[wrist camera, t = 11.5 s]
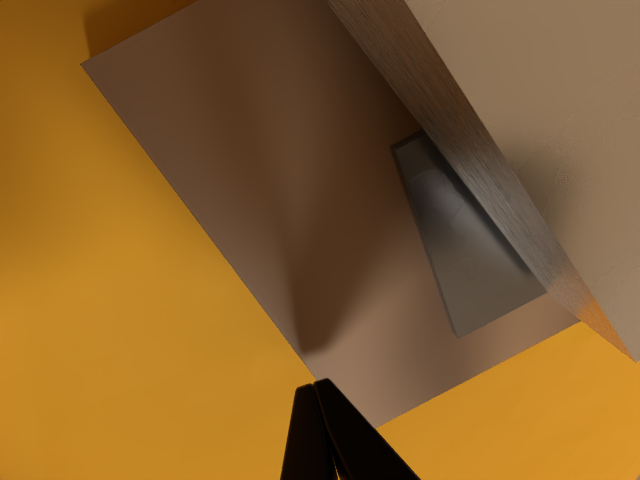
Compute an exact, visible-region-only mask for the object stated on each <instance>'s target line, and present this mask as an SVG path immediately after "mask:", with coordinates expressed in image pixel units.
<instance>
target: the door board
mask: <svg viewBox="0 0 640 480" xmlns="http://www.w3.org/2000/svg"><path fill="white" fill-rule="evenodd" d="M80 65H81V66H82V67H83V69H84V70H85V71H86V73H87V74H88V75H89V77H90V78H91V79H92V81H93V82H94V83H95V85H96V86H97V87H98V89H99V90H100V91H101V93H102V94H103V95H104V97H105V98H106V99H107V101H108V102H109V103H110V105H111V106H112V107H113V109H114V110H115V112H116V113H117V114H118V116H119V117H120V118H121V120H122V121H123V122H124V124H125V125H126V126H127V128H128V129H129V130H130V132H131V133H132V134H133V136H134V137H135V138H136V140H137V141H138V142H139V144H140V145H141V146H142V148H143V149H144V150H145V152H146V153H147V154H148V156H149V157H150V158H151V160H152V161H153V162H154V164H155V165H156V166H157V168H158V169H159V170H160V172H161V173H162V174H163V176H164V177H165V178H166V180H167V181H168V182H169V184H170V185H171V186H172V188H173V189H174V190H175V192H176V193H177V194H178V196H179V197H180V198H181V200H182V201H183V202H184V204H185V205H186V206H187V208H188V209H189V210H190V212H191V213H192V214H193V216H194V217H195V218H196V220H197V221H198V222H199V224H200V225H201V226H202V228H203V229H204V230H205V232H206V233H207V234H208V236H209V237H210V238H211V240H212V241H213V242H214V244H215V245H216V246H217V248H218V249H219V250H220V252H221V253H222V254H223V256H224V257H225V258H226V260H227V261H228V262H229V264H230V265H231V266H232V268H233V269H234V270H235V272H236V273H237V274H238V276H239V277H240V278H241V280H242V281H243V282H244V284H245V285H246V286H247V288H248V289H249V290H250V292H251V293H252V294H253V296H254V297H255V298H256V300H257V301H258V302H259V304H260V305H261V306H262V308H263V309H264V310H265V312H266V313H267V314H268V316H269V317H270V318H271V320H272V321H273V322H274V324H275V325H276V326H277V328H278V329H279V330H280V332H281V333H282V334H283V336H284V337H285V338H286V340H287V341H288V342H289V344H290V345H291V346H292V348H293V349H294V350H295V352H296V353H297V354H298V356H299V357H300V358H301V360H302V361H303V362H304V364H305V365H306V366H307V368H308V369H309V370H310V372H311V373H312V374H313V376H314V377H315V378H316V380H317V381H318V380H321V379H324V378H329V379H330V380H331V381H332V382H333V383H334V384H335V385H336V386H337V387H338V388H339V390H340V391H341V392H342V393H343V394H344V395H345V396H346V397H347V398H348V399H349V401H350V402H351V403H352V404H353V405H354V406H355V407H356V408H357V409H358V411H359V412H360V413H361V414H362V415H363V416H364V417H365V418H366V419H367V421H368V422H369V423H370V424H371V425H372V426H373V427H374V428H377V427H379V426H381V425H383V424H385V423H386V422H388V421H390V420H392V419H394V418H396V417H398V416H400V415H402V414H404V413H406V412H407V411H409V410H411V409H413V408H415V407H417V406H419V405H421V404H423V403H425V402H427V401H428V400H430V399H432V398H434V397H436V396H438V395H440V394H442V393H444V392H446V391H448V390H450V389H451V388H453V387H455V386H457V385H459V384H461V383H463V382H465V381H467V380H469V379H471V378H472V377H474V376H476V375H478V374H480V373H482V372H484V371H486V370H488V369H490V368H492V367H494V366H495V365H497V364H499V363H501V362H503V361H505V360H507V359H509V358H511V357H513V356H515V355H516V354H518V353H520V352H522V351H524V350H526V349H528V348H530V347H532V346H534V345H536V344H538V343H539V342H541V341H543V340H545V339H547V338H549V337H551V336H553V335H555V334H557V333H559V332H560V331H562V330H564V329H566V328H568V327H570V326H572V325H574V324H576V323H578V322H580V321H581V320H580V319H578V318H577V317H576V316H574V315H573V314H572V313H571V312H569V311H568V310H567V309H565V308H564V307H563V306H561V305H560V304H559V303H557V302H556V301H555V300H554V299H552V297H551V296H550V295H549V293H546V294H544V295H542V296H540V297H538V298H536V299H534V300H532V301H530V302H529V303H527V304H525V305H523V306H521V307H519V308H517V309H515V310H513V311H511V312H509V313H508V314H506V315H504V316H502V317H500V318H498V319H496V320H494V321H492V322H490V323H488V324H487V325H485V326H483V327H481V328H479V329H477V330H475V331H473V332H471V333H469V334H467V335H466V336H464V337H462V338H460V339H458V338H457V337H456V336H455V334H454V333H453V332H452V329H451V326H450V323H449V320H448V317H447V314H446V312H445V309H444V306H443V303H442V300H441V297H440V294H439V291H438V288H437V285H436V282H435V279H434V276H433V273H432V270H431V268H430V265H429V262H428V259H427V256H426V253H425V250H424V247H423V244H422V241H421V238H420V235H419V232H418V229H417V226H416V223H415V221H414V218H413V215H412V212H411V209H410V206H409V203H408V200H407V197H406V194H405V191H404V188H403V185H402V182H401V179H400V176H399V174H398V171H397V168H396V165H395V162H394V159H393V156H392V153H391V150H390V147H389V146H391V145H392V144H394V143H396V142H398V141H400V140H402V139H404V138H406V137H407V136H409V135H411V134H413V133H415V132H417V131H419V130H421V129H423V128H422V127H421V126H420V124H419V123H418V122H417V120H416V119H415V118H414V116H413V115H412V114H411V112H410V111H409V110H408V108H407V107H406V106H405V105H404V103H403V102H402V101H401V99H400V98H399V97H398V95H397V94H396V93H395V91H394V90H393V89H392V88H391V86H390V85H389V84H388V82H387V81H386V80H385V78H384V77H383V76H382V74H381V73H380V72H379V70H378V69H377V68H376V67H375V65H374V64H373V63H372V61H371V60H370V59H369V57H368V56H367V55H366V53H365V52H364V51H363V49H362V48H361V47H360V46H359V44H358V43H357V42H356V40H355V39H354V38H353V36H352V35H351V34H350V32H349V31H348V30H347V29H346V27H345V26H344V25H343V23H342V22H341V21H340V19H339V18H338V17H337V15H336V14H335V13H334V11H333V10H332V9H331V8H330V6H329V5H328V4H327V2H326V1H325V0H198V1H196V2H194V3H192V4H190V5H188V6H187V7H185V8H183V9H181V10H179V11H177V12H175V13H174V14H172V15H170V16H168V17H166V18H164V19H162V20H161V21H159V22H157V23H155V24H153V25H151V26H150V27H148V28H146V29H144V30H142V31H140V32H138V33H137V34H135V35H133V36H131V37H129V38H127V39H125V40H124V41H122V42H120V43H118V44H116V45H114V46H112V47H111V48H109V49H107V50H105V51H103V52H101V53H99V54H98V55H96V56H94V57H92V58H90V59H88V60H87V61H85V62H83V63H81V64H80Z"/></svg>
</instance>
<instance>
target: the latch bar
mask: <svg viewBox="0 0 640 480" xmlns="http://www.w3.org/2000/svg"><path fill="white" fill-rule="evenodd" d="M325 1H326V2H327V4H328V5H329V6H330V8H331V9H332V10H333V11H334V13H335V14H336V15H337V17H338V18H339V19H340V21H341V22H342V23H343V25H344V26H345V27H346V29H347V30H348V31H349V32H350V34H351V35H352V36H353V38H354V39H355V40H356V42H357V43H358V44H359V46H360V47H361V48H362V49H363V51H364V52H365V53H366V55H367V56H368V57H369V59H370V60H371V61H372V63H373V64H374V65H375V67H376V68H377V69H378V70H379V72H380V73H381V74H382V76H383V77H384V78H385V80H386V81H387V82H388V84H389V85H390V86H391V88H392V89H393V90H394V91H395V93H396V94H397V95H398V97H399V98H400V99H401V101H402V102H403V103H404V105H405V106H406V107H407V108H408V110H409V111H410V112H411V114H412V115H413V116H414V118H415V119H416V120H417V122H418V123H419V124H420V126H421V127H422V128H423V129H424V131H425V132H426V133H427V135H428V136H429V137H430V139H431V140H432V141H433V143H434V144H435V145H436V146H437V148H438V149H439V150H440V152H441V153H442V154H443V156H444V157H445V158H446V160H447V161H448V162H449V164H450V165H451V166H452V167H453V169H454V170H455V171H456V173H457V174H458V175H459V177H460V178H461V179H462V181H463V182H464V183H465V184H466V186H467V187H468V188H469V190H470V191H471V192H472V194H473V195H474V196H475V198H476V199H477V200H478V202H479V203H480V204H481V205H482V207H483V208H484V209H485V211H486V212H487V213H488V215H489V216H490V217H491V219H492V220H493V221H494V223H495V224H496V225H497V226H498V228H499V229H500V230H501V232H502V233H503V234H504V236H505V237H506V238H507V240H508V241H509V242H510V243H511V245H512V246H513V247H514V249H515V250H516V251H517V253H518V254H519V255H520V257H521V258H522V259H523V261H524V262H525V263H526V264H527V266H528V267H529V268H530V270H531V271H532V272H533V274H534V275H535V276H536V278H537V279H538V280H539V281H540V283H541V284H542V285H543V287H544V288H545V289H546V291H547V292H548V293H549V295H550V296H551V297H552V299H554V300H555V301H556V302H557V303H559V304H560V305H561V306H563V307H564V308H565V309H567V310H568V311H569V312H571V313H572V314H573V315H574V316H576V317H577V318H578V319H580V320H581V321H582V322H584V323H585V324H586V325H587V326H589V327H590V328H591V329H593V330H594V331H595V332H597V333H598V334H599V335H600V336H602V337H603V338H604V339H606V340H607V341H608V342H610V343H611V344H612V345H614V346H615V347H616V348H617V349H619V350H620V351H621V352H623V353H624V354H625V355H627V356H628V357H629V358H630V359H632V360H633V361H634V362H638V361H639V360H640V0H325Z"/></svg>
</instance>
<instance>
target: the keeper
mask: <svg viewBox="0 0 640 480" xmlns="http://www.w3.org/2000/svg"><path fill="white" fill-rule="evenodd" d="M389 147H390V150H391V153H392V156H393V159H394V162H395V165H396V168H397V171H398V174H399V176H400V179H401V182H402V185H403V188H404V191H405V194H406V197H407V200H408V203H409V206H410V209H411V212H412V215H413V218H414V221H415V223H416V226H417V229H418V232H419V235H420V238H421V241H422V244H423V247H424V250H425V253H426V256H427V259H428V262H429V265H430V268H431V270H432V273H433V276H434V279H435V282H436V285H437V288H438V291H439V294H440V297H441V300H442V303H443V306H444V309H445V312H446V314H447V317H448V320H449V323H450V326H451V329H452V332H453V333H454V334H455V336H456V337H457V338H458V339H460V338H462V337H464V336H466V335H467V334H469V333H471V332H473V331H475V330H477V329H479V328H481V327H483V326H485V325H487V324H488V323H490V322H492V321H494V320H496V319H498V318H500V317H502V316H504V315H506V314H508V313H509V312H511V311H513V310H515V309H517V308H519V307H521V306H523V305H525V304H527V303H529V302H530V301H532V300H534V299H536V298H538V297H540V296H542V295H544V294H546V293H548V292H547V291H546V289H545V288H544V287H543V285H542V284H541V283H540V281H539V280H538V279H537V278H536V276H535V275H534V274H533V272H532V271H531V270H530V268H529V267H528V266H527V264H526V263H525V262H524V261H523V259H522V258H521V257H520V255H519V254H518V253H517V251H516V250H515V249H514V247H513V246H512V245H511V243H510V242H509V241H508V240H507V238H506V237H505V236H504V234H503V233H502V232H501V230H500V229H499V228H498V226H497V225H496V224H495V223H494V221H493V220H492V219H491V217H490V216H489V215H488V213H487V212H486V211H485V209H484V208H483V207H482V205H481V204H480V203H479V202H478V200H477V199H476V198H475V196H474V195H473V194H472V192H471V191H470V190H469V188H468V187H467V186H466V184H465V183H464V182H463V181H462V179H461V178H460V177H459V175H458V174H457V173H456V171H455V170H454V169H453V167H452V166H451V165H450V164H449V162H448V161H447V160H446V158H445V157H444V156H443V154H442V153H441V152H440V150H439V149H438V148H437V146H436V145H435V144H434V143H433V141H432V140H431V139H430V137H429V136H428V135H427V133H426V132H425V131H424V129H421V130H419V131H417V132H415V133H413V134H411V135H409V136H407V137H406V138H404V139H402V140H400V141H398V142H396V143H394V144H392V145H391V146H389Z"/></svg>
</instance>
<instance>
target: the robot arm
mask: <svg viewBox="0 0 640 480" xmlns="http://www.w3.org/2000/svg"><path fill="white" fill-rule="evenodd" d="M331 452H332V453H331ZM333 459H334V460H333ZM334 463H335V464H334ZM335 466H336V468H335ZM336 470H337V472H336ZM337 473H338V476H339V479H340V480H421V479H420V478H419V477H418V476H417V475H416V474H415V473H414V471H413V470H412V469H411V468H410V467H409V466H408V465H407V464H406V463H405V462H404V460H403V459H402V458H401V457H400V456H399V455H398V454H397V453H396V452H395V450H394V449H393V448H392V447H391V446H390V445H389V444H388V443H387V442H386V440H385V439H384V438H383V437H382V436H381V435H380V434H379V433H378V432H377V431H376V429H375V428H374V427H373V426H372V425H371V424H370V423H369V422H368V421H367V419H366V418H365V417H364V416H363V415H362V414H361V413H360V412H359V411H358V409H357V408H356V407H355V406H354V405H353V404H352V403H351V402H350V401H349V399H348V398H347V397H346V396H345V395H344V394H343V393H342V392H341V391H340V390H339V388H338V387H337V386H336V385H335V384H334V383H333V382H332V381H331V380H330V379H329V378H324V379H321V380H318V381H315V382H314V383H313V385H312V384H311V383H309V384H306V385H303V386H300V387H297V389H296V391H295V396H294V402H293V408H292V413H291V419H290V425H289V431H288V437H287V443H286V448H285V454H284V460H283V466H282V472H281V477H280V480H338V476H337Z"/></svg>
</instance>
